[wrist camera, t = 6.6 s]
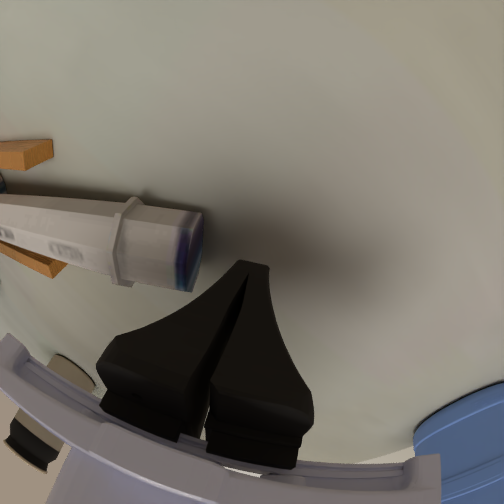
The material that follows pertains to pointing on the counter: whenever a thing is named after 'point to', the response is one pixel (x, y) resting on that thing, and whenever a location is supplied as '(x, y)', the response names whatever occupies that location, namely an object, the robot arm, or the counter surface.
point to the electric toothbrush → (108, 237)
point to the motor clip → (24, 158)
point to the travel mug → (36, 436)
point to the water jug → (468, 447)
